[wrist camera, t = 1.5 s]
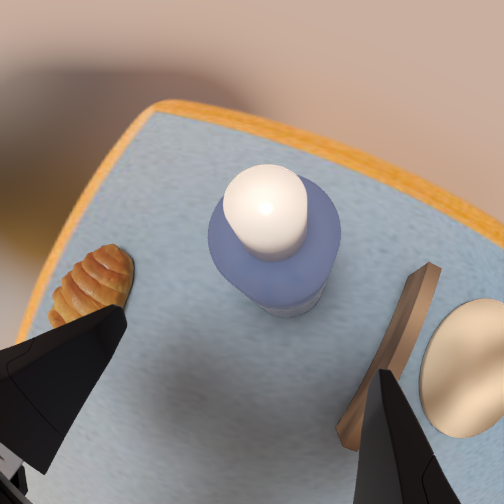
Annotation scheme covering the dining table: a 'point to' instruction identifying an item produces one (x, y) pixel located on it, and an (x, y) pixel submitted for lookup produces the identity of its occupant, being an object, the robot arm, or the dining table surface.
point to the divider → (393, 346)
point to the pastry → (93, 285)
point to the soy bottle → (275, 238)
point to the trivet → (465, 370)
